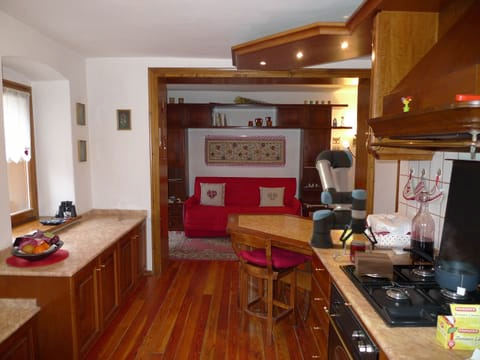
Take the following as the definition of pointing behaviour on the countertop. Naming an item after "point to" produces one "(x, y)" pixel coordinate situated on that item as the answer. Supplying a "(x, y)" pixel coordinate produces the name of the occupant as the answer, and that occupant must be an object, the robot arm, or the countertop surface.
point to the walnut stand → (373, 264)
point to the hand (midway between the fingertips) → (357, 254)
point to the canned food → (356, 249)
